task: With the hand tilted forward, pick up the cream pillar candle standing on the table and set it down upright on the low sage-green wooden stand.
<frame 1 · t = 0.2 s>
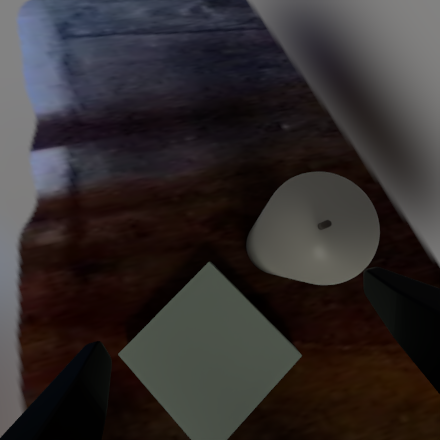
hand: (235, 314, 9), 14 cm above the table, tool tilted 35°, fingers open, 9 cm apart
stand: (210, 346, 22), on the table
candle: (274, 245, 23), on the table
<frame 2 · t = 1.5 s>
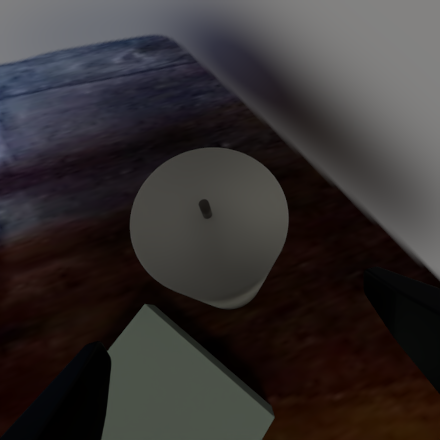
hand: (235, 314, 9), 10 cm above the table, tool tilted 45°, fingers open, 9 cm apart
stand: (160, 421, 17), on the table
candle: (228, 273, 19), on the table
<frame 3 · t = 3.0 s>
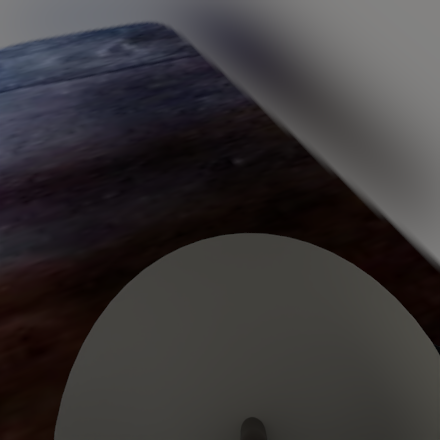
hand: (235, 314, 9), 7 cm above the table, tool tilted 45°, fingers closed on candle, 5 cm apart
candle: (244, 340, 14), on the table, touching gripper
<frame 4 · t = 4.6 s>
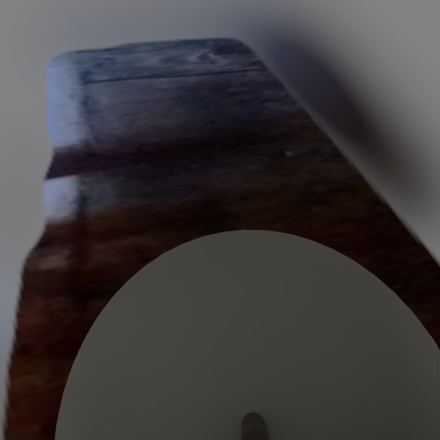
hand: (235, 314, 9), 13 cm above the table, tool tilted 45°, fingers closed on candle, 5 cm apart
candle: (245, 339, 14), point 7 cm above the table, touching gripper
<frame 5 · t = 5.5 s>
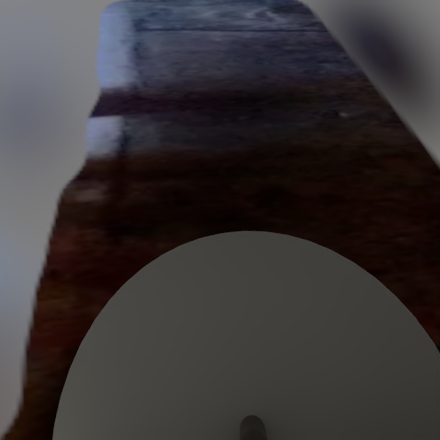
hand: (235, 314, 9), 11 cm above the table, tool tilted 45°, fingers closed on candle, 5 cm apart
candle: (244, 340, 14), point 5 cm above the table, touching gripper
when the fingers open (10 cm above the table, at t = 6.1 s): candle drops 1 cm, resting on stand.
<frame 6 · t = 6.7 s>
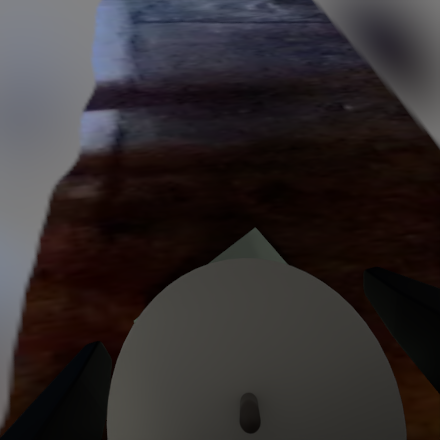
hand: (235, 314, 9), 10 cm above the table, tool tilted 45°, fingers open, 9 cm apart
stand: (244, 335, 18), on the table
candle: (245, 338, 16), point 2 cm above the table, touching stand
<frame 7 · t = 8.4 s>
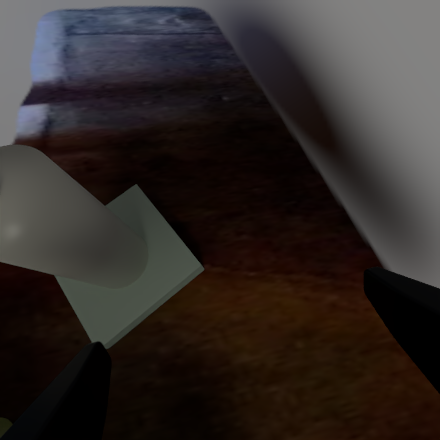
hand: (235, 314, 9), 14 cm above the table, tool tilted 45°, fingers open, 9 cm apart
stand: (128, 262, 24), on the table
candle: (119, 258, 22), point 2 cm above the table, touching stand
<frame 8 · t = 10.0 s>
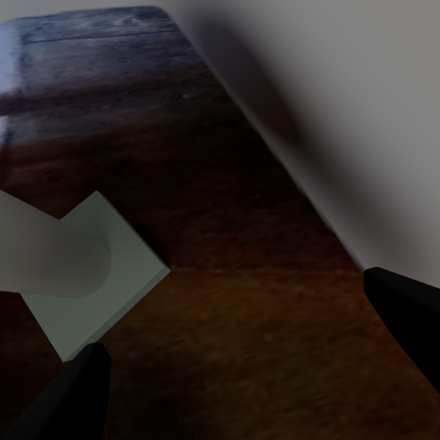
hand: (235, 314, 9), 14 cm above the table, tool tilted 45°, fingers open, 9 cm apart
stand: (94, 270, 24), on the table
candle: (82, 266, 22), point 2 cm above the table, touching stand
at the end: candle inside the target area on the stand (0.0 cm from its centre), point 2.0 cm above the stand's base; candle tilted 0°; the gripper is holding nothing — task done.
